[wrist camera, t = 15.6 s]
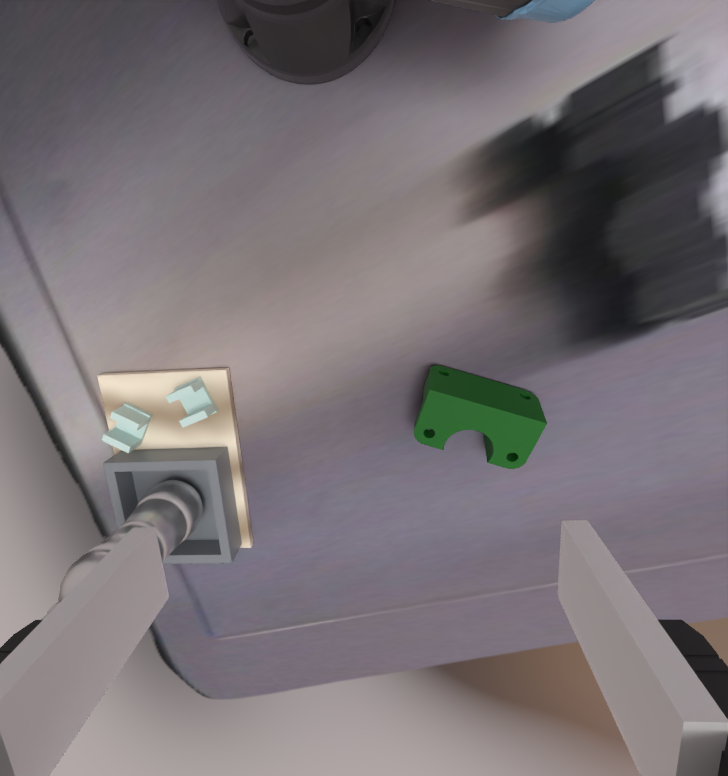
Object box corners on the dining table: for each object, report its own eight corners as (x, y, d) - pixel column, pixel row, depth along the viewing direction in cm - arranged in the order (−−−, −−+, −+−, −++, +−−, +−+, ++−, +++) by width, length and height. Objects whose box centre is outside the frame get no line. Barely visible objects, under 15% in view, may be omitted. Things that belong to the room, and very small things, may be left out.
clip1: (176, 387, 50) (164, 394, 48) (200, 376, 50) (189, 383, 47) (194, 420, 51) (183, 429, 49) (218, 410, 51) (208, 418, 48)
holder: (122, 450, 53) (103, 463, 50) (227, 446, 52) (215, 460, 48) (142, 545, 56) (125, 563, 53) (241, 544, 55) (231, 562, 52)
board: (103, 373, 52) (97, 375, 51) (229, 367, 50) (225, 369, 50) (139, 544, 57) (134, 549, 56) (253, 542, 56) (250, 547, 55)
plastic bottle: (217, 486, 53) (112, 621, 33) (198, 535, 54) (88, 689, 35) (162, 463, 52) (24, 585, 33) (145, 513, 54) (5, 656, 35)
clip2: (127, 401, 51) (112, 409, 49) (152, 414, 51) (139, 422, 49) (115, 432, 52) (101, 442, 50) (141, 444, 53) (127, 454, 50)
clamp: (431, 399, 54) (395, 431, 47) (448, 353, 51) (412, 381, 44) (531, 450, 50) (508, 495, 43) (556, 404, 47) (536, 444, 40)
